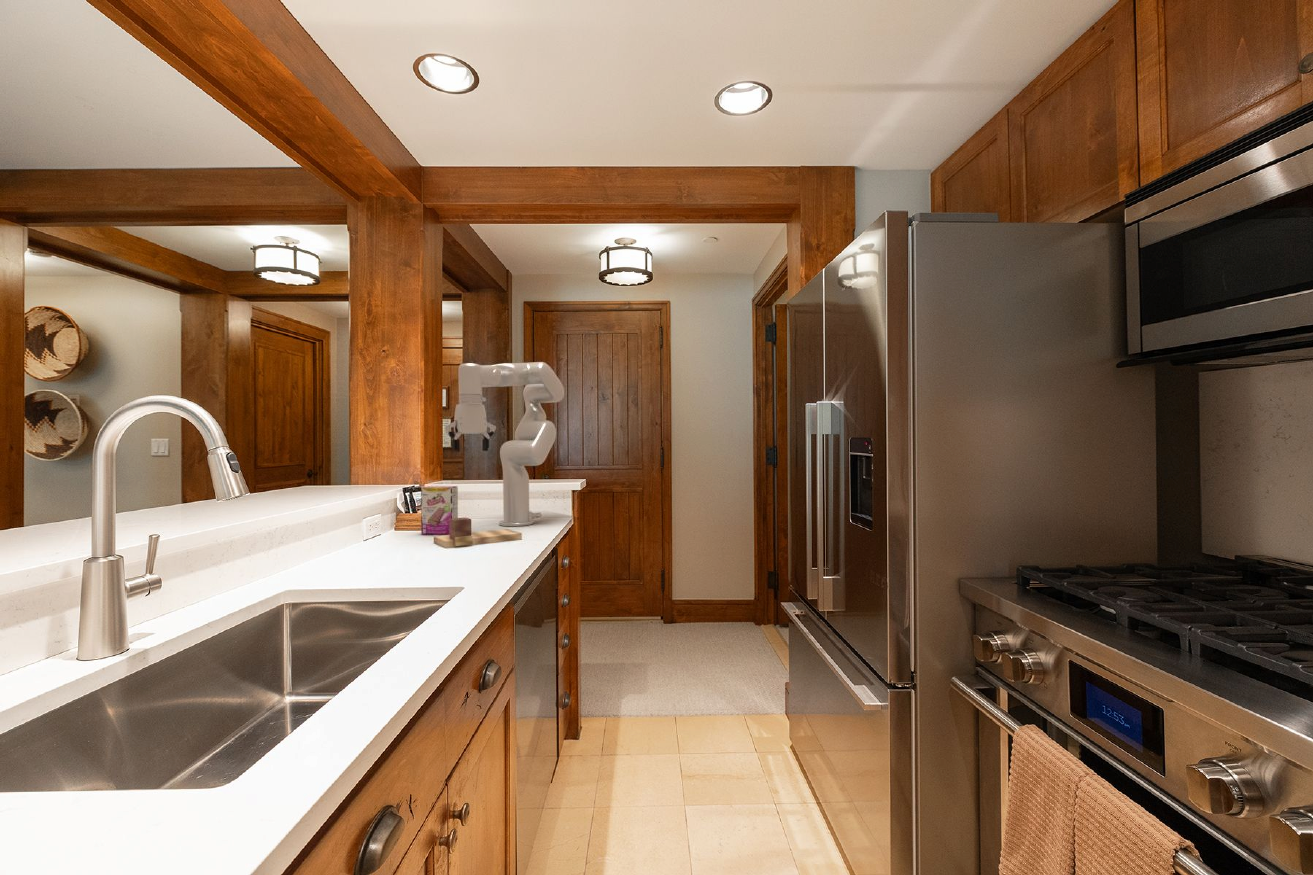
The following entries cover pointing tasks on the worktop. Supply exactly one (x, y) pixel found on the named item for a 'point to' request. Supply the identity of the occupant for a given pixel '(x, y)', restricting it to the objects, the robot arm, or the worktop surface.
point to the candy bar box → (438, 509)
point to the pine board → (481, 538)
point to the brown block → (460, 531)
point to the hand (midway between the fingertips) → (471, 451)
